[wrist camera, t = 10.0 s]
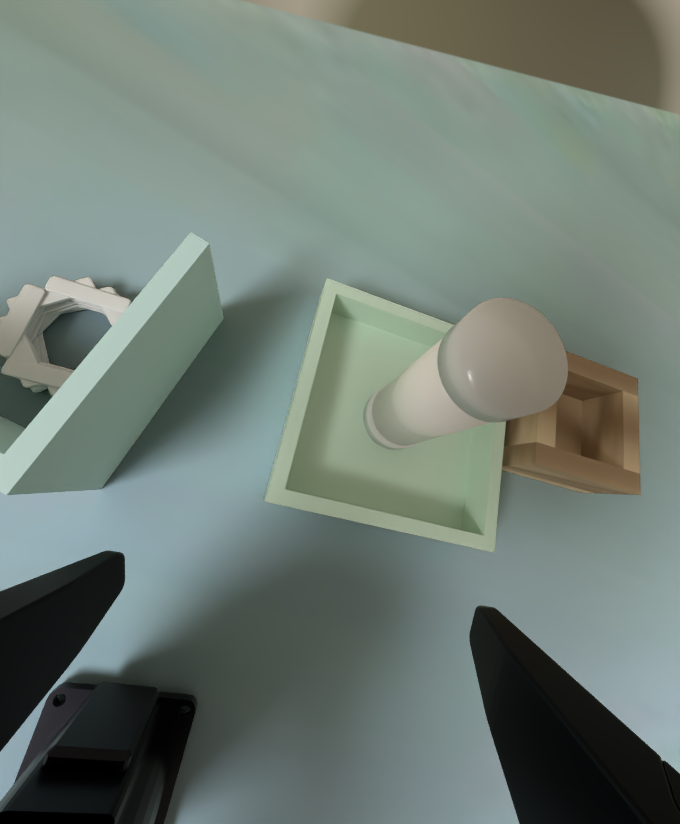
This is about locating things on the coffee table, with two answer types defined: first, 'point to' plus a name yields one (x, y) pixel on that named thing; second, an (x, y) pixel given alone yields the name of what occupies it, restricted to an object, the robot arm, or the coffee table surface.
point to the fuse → (472, 377)
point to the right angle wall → (102, 370)
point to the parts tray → (353, 447)
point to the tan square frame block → (581, 434)
